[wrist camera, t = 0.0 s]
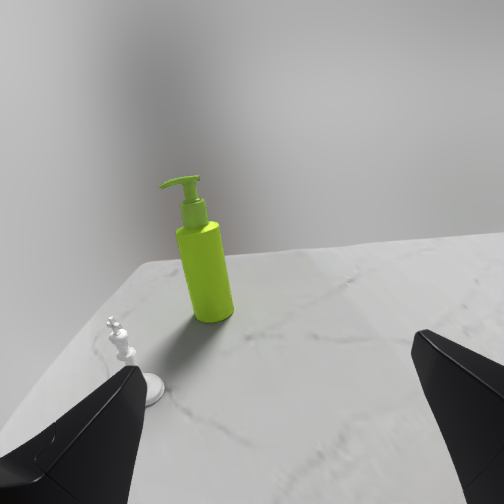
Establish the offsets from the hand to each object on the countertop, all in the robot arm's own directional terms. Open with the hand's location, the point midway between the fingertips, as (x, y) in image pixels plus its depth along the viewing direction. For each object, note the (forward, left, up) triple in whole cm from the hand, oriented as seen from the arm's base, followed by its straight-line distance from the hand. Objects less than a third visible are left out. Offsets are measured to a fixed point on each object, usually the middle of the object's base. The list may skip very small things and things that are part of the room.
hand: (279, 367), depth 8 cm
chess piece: (+15, +15, -17) cm, 27 cm away
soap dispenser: (+31, +9, -17) cm, 36 cm away
